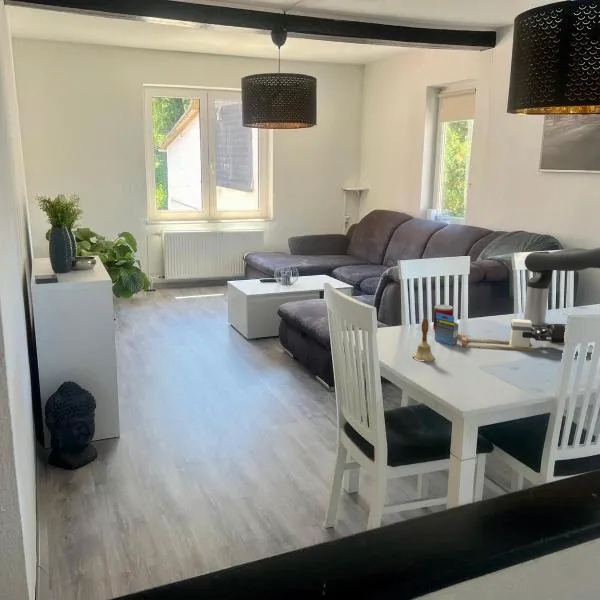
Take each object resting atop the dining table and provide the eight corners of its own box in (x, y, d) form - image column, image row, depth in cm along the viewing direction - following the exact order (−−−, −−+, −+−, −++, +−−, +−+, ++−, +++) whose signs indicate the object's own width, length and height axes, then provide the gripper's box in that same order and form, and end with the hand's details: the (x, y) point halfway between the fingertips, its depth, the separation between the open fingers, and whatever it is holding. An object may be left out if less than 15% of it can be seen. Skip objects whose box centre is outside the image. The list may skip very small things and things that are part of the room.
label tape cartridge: (457, 343, 247) (459, 314, 244) (452, 345, 244) (454, 316, 241) (439, 338, 253) (441, 310, 250) (434, 340, 250) (435, 312, 247)
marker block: (509, 344, 246) (511, 318, 243) (527, 345, 245) (530, 319, 242) (510, 348, 242) (513, 322, 239) (529, 349, 240) (532, 323, 238)
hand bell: (427, 363, 224) (429, 322, 220) (408, 358, 229) (410, 317, 225) (438, 358, 230) (441, 317, 226) (420, 352, 235) (422, 313, 231)
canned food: (455, 332, 262) (456, 308, 259) (439, 334, 259) (441, 309, 256) (444, 327, 269) (446, 303, 266) (429, 329, 266) (431, 305, 263)
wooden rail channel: (460, 339, 253) (460, 332, 252) (529, 343, 247) (530, 336, 247) (461, 347, 242) (462, 340, 242) (534, 352, 237) (535, 344, 236)
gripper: (560, 320, 244) (519, 317, 247) (568, 330, 231) (524, 327, 234) (558, 337, 246) (517, 335, 249) (566, 348, 233) (522, 345, 236)
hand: (520, 331), depth 242 cm, fingers open, 8 cm apart
